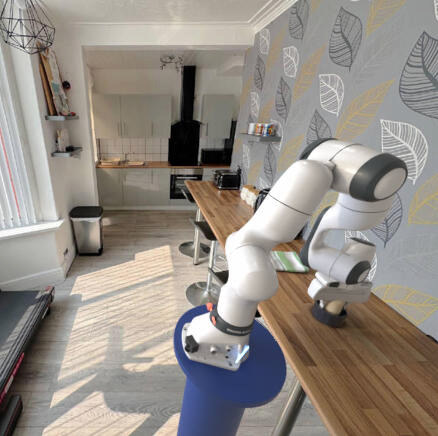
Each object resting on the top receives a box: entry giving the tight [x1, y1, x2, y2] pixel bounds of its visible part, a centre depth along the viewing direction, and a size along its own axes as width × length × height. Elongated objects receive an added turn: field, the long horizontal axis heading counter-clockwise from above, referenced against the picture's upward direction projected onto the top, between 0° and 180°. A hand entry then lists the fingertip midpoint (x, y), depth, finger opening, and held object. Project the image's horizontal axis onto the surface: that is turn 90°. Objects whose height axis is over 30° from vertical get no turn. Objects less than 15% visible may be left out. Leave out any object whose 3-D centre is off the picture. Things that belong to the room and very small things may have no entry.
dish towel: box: [269, 250, 310, 274], centre depth 126 cm, size 17×23×4 cm
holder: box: [311, 300, 349, 328], centre depth 91 cm, size 10×10×5 cm
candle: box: [322, 300, 345, 316], centre depth 90 cm, size 6×6×10 cm
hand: (331, 307), depth 91 cm, fingers closed on candle, 5 cm apart
